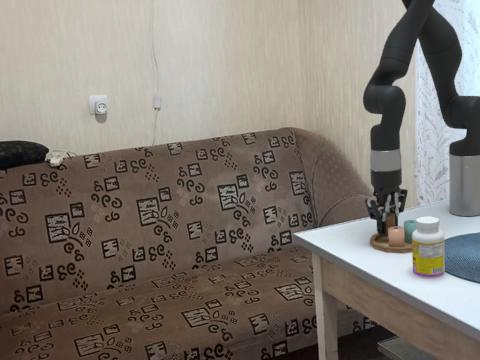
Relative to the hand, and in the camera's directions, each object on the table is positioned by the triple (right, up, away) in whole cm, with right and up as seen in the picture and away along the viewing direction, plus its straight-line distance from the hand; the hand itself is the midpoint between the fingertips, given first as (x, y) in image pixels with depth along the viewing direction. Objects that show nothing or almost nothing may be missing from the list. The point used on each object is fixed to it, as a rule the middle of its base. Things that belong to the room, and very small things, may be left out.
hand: (387, 232), depth 148 cm
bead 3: (+6, -2, -2) cm, 6 cm away
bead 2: (+1, -3, -5) cm, 6 cm away
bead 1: (0, 0, 0) cm, 0 cm away
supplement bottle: (+4, -8, -21) cm, 22 cm away
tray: (+2, -3, -2) cm, 5 cm away
